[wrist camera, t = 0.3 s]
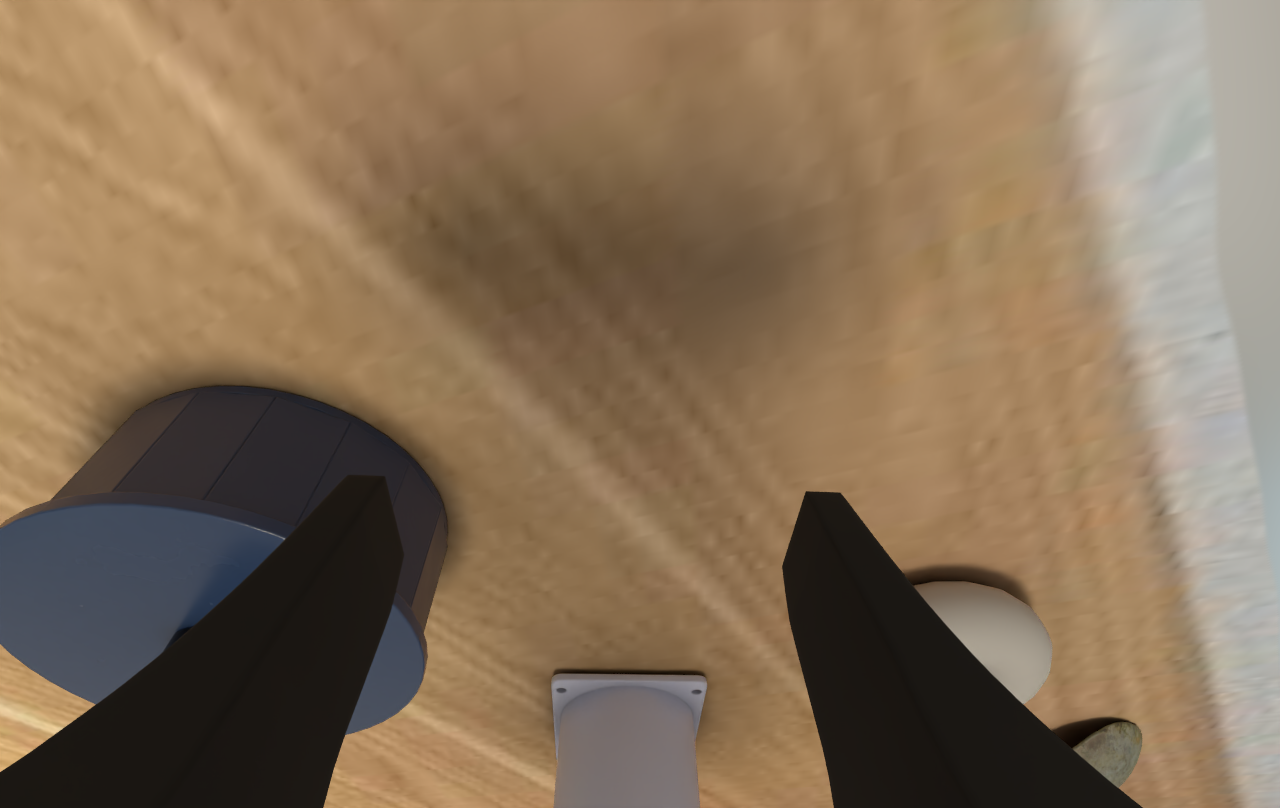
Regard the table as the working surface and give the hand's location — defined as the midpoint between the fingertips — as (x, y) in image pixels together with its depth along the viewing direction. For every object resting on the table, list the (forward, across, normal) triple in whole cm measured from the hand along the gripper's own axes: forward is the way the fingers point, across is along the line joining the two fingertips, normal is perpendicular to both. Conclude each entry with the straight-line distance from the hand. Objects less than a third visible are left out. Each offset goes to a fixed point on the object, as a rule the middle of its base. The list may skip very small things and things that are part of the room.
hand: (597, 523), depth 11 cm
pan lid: (+5, +12, +11) cm, 17 cm away
